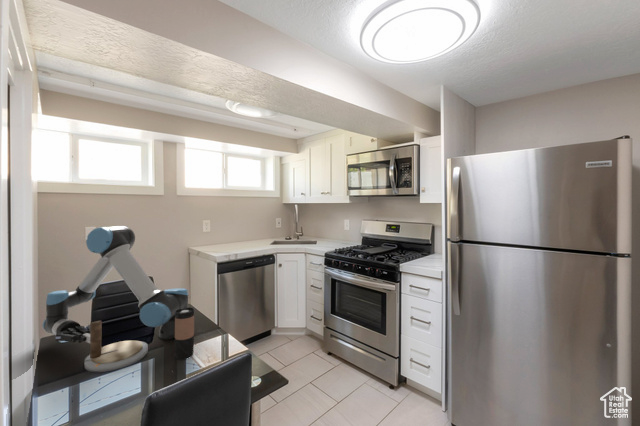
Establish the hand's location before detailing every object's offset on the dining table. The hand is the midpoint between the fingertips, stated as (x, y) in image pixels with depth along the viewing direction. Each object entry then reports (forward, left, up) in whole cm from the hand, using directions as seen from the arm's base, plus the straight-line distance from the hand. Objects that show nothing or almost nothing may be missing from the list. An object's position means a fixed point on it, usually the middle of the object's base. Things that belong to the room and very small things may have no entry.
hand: (92, 339), depth 114 cm
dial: (-8, -3, -7) cm, 11 cm away
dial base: (-8, -3, -9) cm, 13 cm away
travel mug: (-36, 0, -10) cm, 37 cm away
